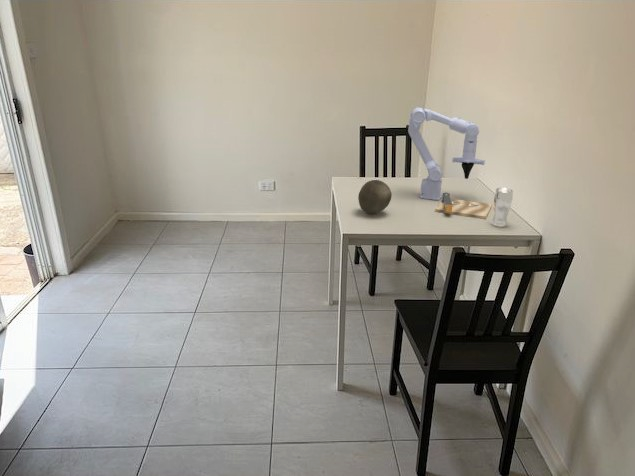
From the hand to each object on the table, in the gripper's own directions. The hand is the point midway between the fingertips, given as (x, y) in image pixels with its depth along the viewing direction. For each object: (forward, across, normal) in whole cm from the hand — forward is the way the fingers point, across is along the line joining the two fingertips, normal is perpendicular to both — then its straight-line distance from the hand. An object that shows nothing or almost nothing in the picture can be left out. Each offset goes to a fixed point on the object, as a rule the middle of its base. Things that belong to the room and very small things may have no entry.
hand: (466, 178), depth 225 cm
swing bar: (+8, -4, -19) cm, 22 cm away
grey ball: (+10, -32, -38) cm, 51 cm away
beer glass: (+11, +20, -28) cm, 36 cm away
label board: (+10, +2, -15) cm, 19 cm away
